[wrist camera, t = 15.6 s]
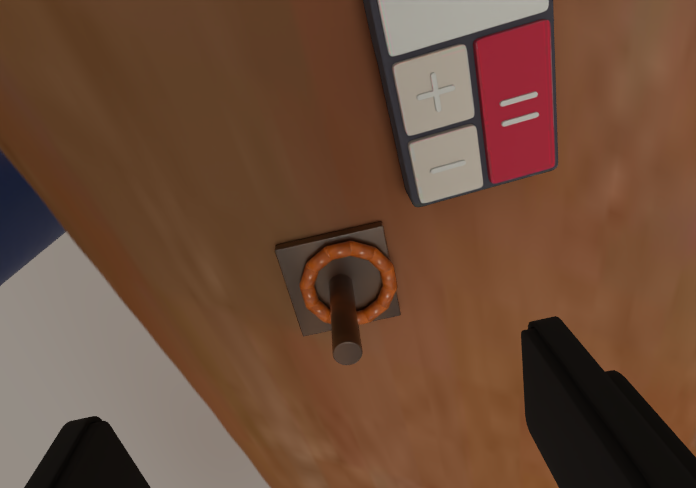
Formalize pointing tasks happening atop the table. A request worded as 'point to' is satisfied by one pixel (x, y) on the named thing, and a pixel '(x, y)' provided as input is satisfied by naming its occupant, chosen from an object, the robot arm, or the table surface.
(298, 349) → the table surface
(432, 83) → the calculator
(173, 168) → the table surface
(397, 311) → the post
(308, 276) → the orange ring
